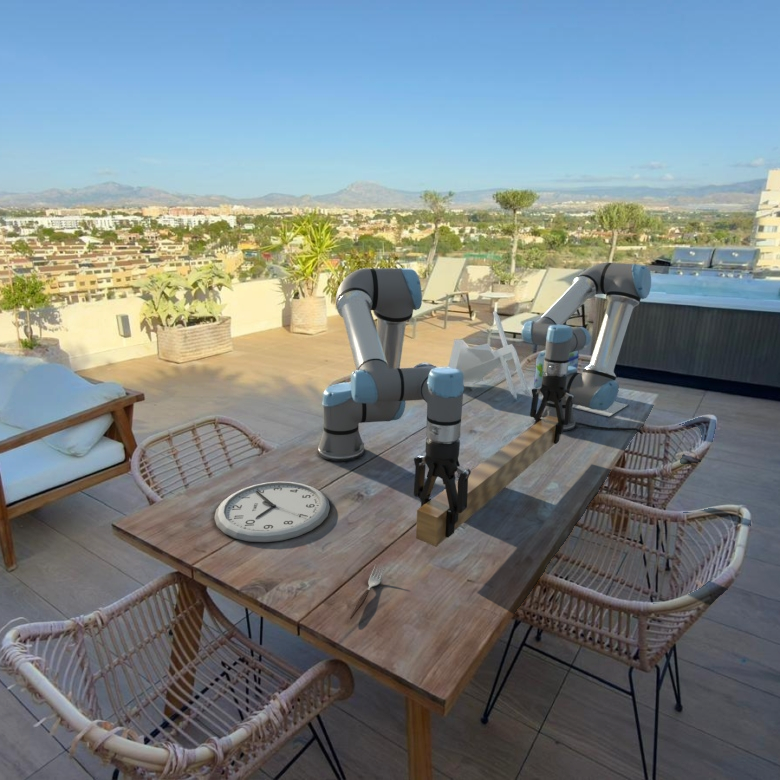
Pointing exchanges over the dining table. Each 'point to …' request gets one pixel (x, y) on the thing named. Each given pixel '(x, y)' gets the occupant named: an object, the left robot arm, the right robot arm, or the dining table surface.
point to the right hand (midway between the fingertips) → (547, 440)
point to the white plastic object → (486, 360)
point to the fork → (372, 582)
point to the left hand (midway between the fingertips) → (438, 529)
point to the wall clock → (272, 511)
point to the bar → (487, 480)
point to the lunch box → (540, 364)
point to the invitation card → (608, 412)
